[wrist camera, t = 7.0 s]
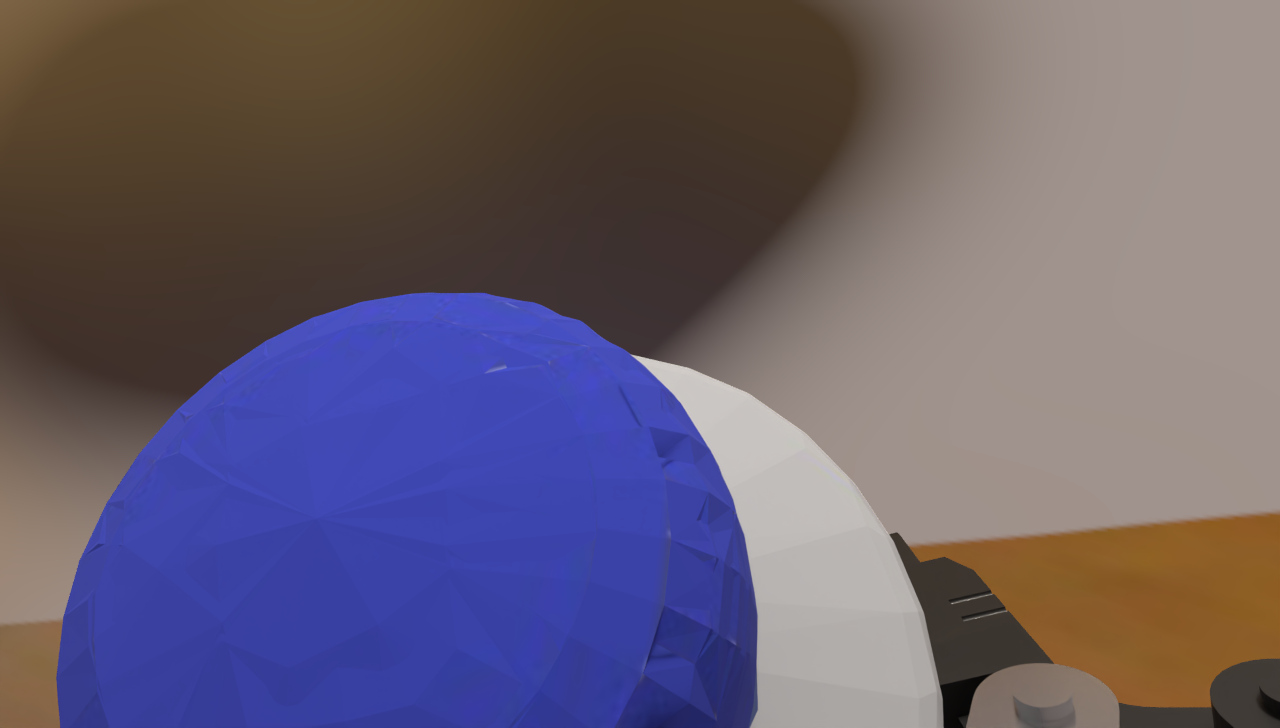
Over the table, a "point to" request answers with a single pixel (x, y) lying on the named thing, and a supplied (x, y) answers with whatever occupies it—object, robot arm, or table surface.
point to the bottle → (486, 546)
